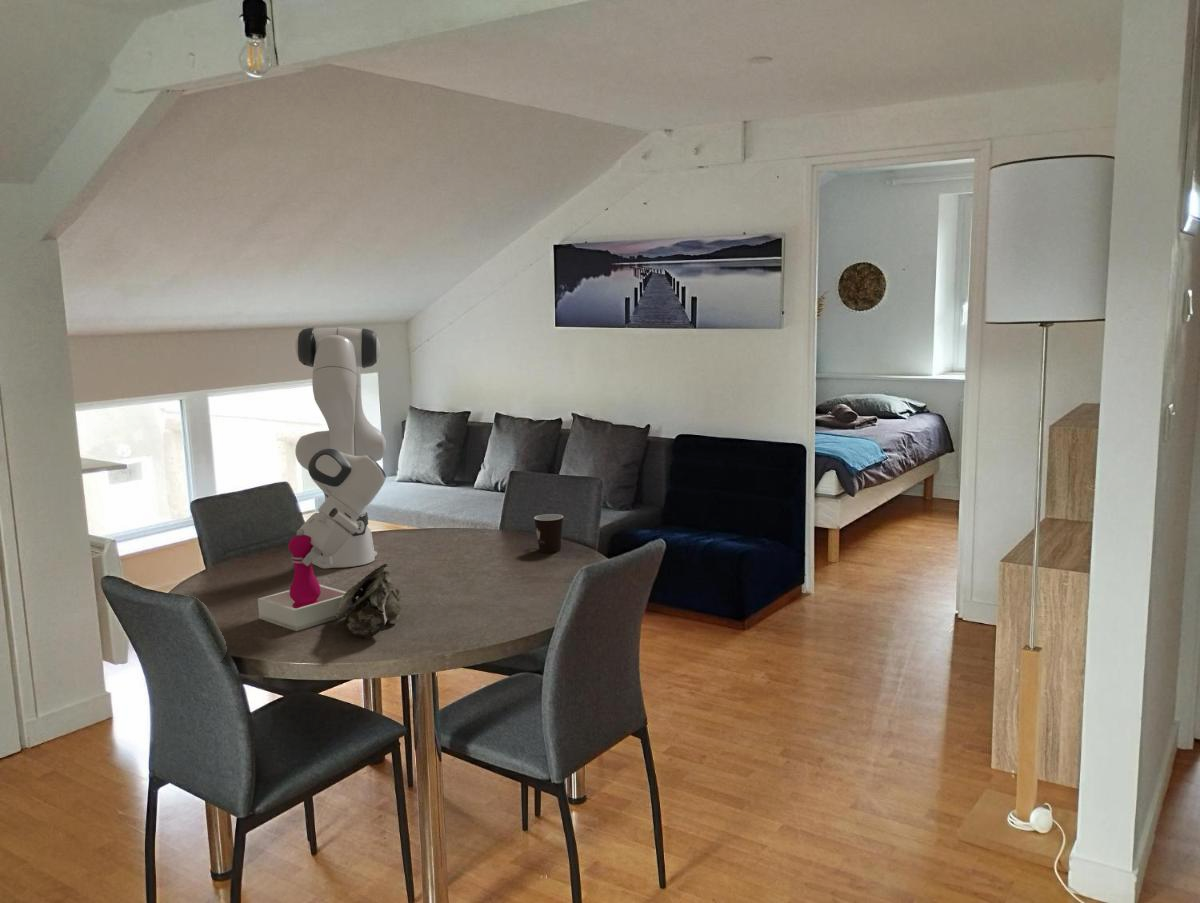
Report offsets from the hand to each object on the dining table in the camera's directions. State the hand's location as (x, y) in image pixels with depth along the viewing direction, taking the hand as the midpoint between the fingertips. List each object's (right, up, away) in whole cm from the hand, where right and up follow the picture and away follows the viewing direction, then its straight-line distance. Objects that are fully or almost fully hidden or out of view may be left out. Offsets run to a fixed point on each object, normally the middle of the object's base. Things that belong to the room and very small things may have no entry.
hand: (299, 561), depth 240 cm
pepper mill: (+1, -12, +2) cm, 12 cm away
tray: (+1, -14, +2) cm, 14 cm away
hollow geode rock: (+18, -15, -7) cm, 24 cm away
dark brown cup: (+57, -3, +60) cm, 83 cm away
